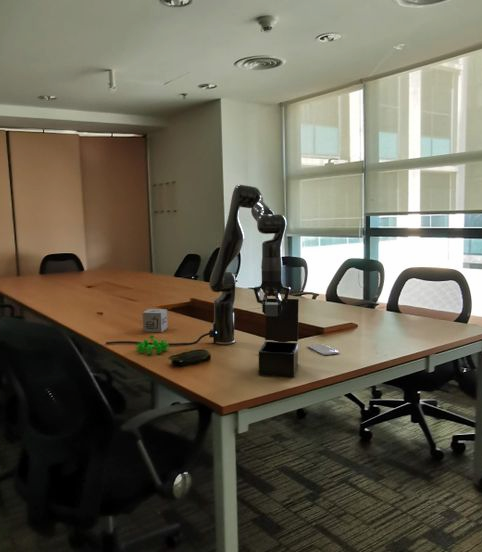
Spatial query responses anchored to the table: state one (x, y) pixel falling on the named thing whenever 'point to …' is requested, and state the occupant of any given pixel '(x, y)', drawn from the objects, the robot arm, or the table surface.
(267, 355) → the black open box
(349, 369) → the table surface
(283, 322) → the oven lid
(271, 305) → the steel block
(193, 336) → the table surface
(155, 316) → the icon cube
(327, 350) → the mobile phone
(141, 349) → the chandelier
